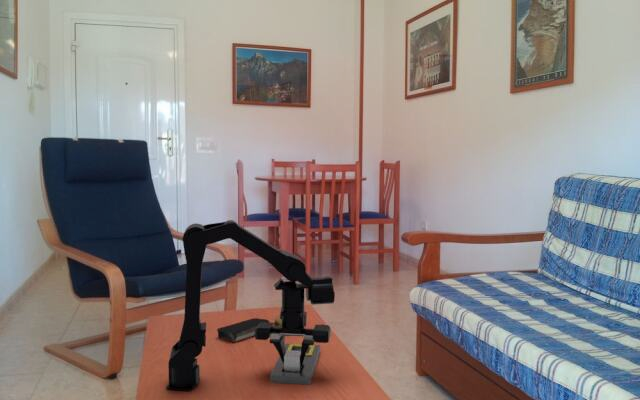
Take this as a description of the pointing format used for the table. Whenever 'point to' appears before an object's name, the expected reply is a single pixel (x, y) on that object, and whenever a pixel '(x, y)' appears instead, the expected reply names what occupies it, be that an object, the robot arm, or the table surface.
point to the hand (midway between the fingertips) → (293, 364)
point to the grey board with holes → (307, 367)
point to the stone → (278, 322)
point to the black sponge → (240, 329)
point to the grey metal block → (292, 362)
